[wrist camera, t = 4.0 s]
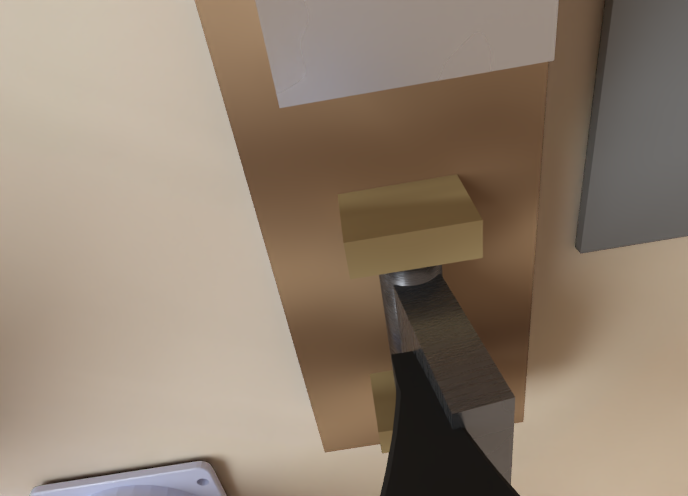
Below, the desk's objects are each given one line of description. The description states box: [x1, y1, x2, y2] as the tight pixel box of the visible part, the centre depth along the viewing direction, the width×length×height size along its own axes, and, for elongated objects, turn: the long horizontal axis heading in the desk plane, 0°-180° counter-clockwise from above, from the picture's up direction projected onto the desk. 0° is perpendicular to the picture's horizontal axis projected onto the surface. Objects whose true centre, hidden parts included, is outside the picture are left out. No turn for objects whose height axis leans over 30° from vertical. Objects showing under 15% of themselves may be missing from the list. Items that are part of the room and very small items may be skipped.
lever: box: [379, 265, 515, 485], centre depth 13 cm, size 5×2×5 cm, turn 9°
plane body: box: [195, 0, 549, 453], centre depth 13 cm, size 22×8×5 cm, turn 9°
